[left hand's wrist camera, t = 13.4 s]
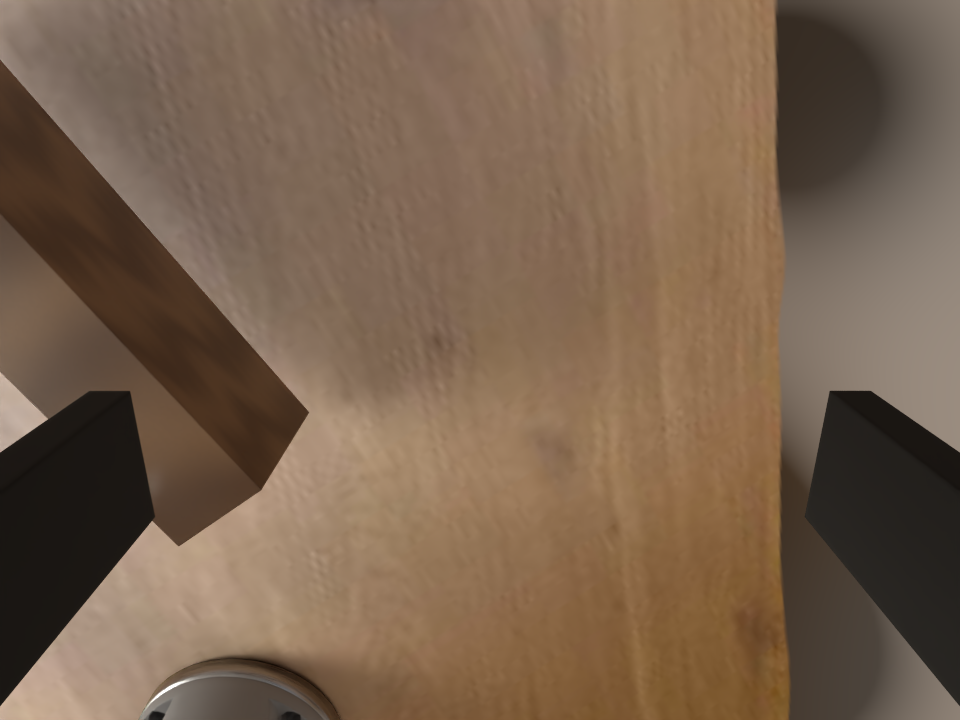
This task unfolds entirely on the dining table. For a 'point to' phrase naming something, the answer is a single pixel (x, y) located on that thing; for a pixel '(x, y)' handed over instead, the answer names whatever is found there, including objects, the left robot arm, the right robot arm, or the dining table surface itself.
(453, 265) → the dining table surface
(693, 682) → the dining table surface
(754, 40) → the dining table surface
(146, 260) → the bar
